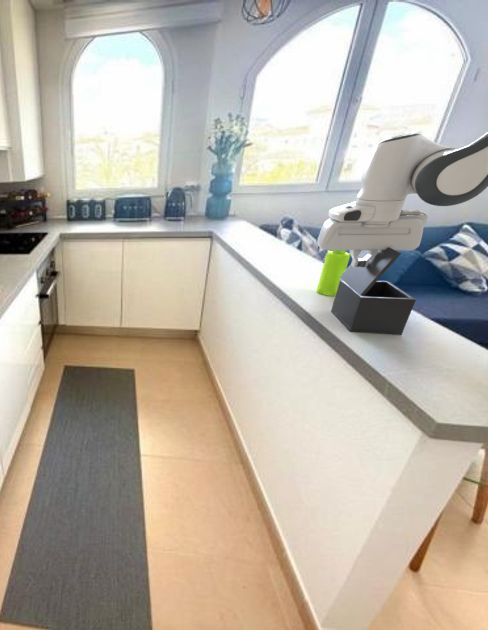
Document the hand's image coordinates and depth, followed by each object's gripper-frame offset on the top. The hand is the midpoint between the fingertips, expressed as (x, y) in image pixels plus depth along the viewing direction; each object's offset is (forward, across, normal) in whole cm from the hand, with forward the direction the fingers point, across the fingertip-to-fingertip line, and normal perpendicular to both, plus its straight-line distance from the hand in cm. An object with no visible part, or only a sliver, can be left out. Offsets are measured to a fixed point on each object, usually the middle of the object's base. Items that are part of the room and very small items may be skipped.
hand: (358, 266), depth 88 cm
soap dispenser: (+16, -4, -21) cm, 27 cm away
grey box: (+16, -5, 0) cm, 17 cm away
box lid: (0, -2, 0) cm, 2 cm away
